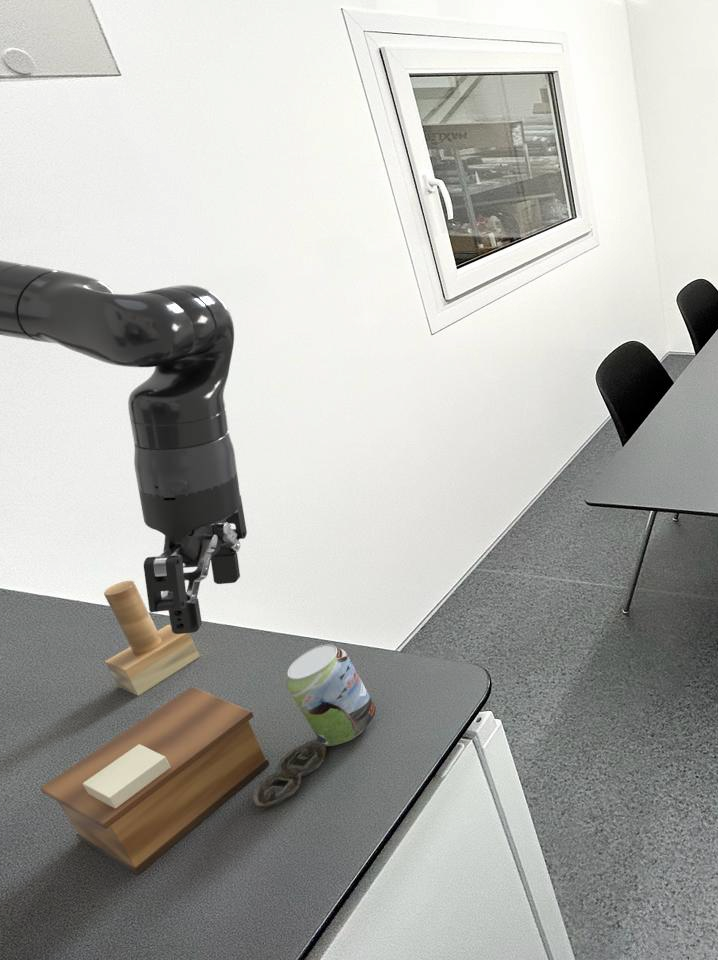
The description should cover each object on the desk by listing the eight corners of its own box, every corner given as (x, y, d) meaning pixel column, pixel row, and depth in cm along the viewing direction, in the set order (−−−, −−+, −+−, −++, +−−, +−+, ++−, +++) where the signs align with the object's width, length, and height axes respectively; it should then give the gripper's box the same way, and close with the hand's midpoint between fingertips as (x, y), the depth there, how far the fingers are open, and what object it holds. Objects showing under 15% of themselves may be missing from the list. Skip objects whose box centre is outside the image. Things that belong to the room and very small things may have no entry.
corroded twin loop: (241, 809, 69) (238, 803, 69) (303, 743, 76) (300, 737, 76) (282, 814, 68) (279, 808, 68) (340, 747, 76) (337, 741, 76)
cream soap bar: (88, 794, 62) (81, 783, 62) (144, 754, 66) (139, 743, 66) (115, 809, 61) (108, 797, 61) (171, 767, 65) (165, 756, 65)
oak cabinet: (74, 842, 66) (39, 788, 63) (215, 736, 78) (191, 686, 75) (136, 879, 63) (102, 824, 60) (274, 763, 74) (251, 711, 71)
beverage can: (384, 728, 78) (364, 651, 75) (312, 768, 73) (287, 687, 70) (370, 700, 82) (351, 626, 79) (301, 736, 77) (277, 658, 74)
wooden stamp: (118, 687, 85) (72, 601, 80) (180, 648, 91) (142, 567, 86) (138, 696, 83) (93, 610, 78) (199, 656, 89) (162, 574, 84)
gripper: (181, 448, 71) (200, 570, 75) (95, 511, 58) (123, 655, 62) (262, 446, 73) (276, 565, 78) (197, 507, 61) (218, 645, 65)
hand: (208, 605), depth 70 cm, fingers open, 8 cm apart
